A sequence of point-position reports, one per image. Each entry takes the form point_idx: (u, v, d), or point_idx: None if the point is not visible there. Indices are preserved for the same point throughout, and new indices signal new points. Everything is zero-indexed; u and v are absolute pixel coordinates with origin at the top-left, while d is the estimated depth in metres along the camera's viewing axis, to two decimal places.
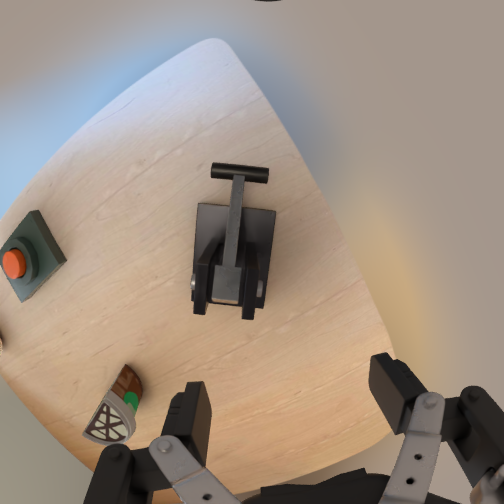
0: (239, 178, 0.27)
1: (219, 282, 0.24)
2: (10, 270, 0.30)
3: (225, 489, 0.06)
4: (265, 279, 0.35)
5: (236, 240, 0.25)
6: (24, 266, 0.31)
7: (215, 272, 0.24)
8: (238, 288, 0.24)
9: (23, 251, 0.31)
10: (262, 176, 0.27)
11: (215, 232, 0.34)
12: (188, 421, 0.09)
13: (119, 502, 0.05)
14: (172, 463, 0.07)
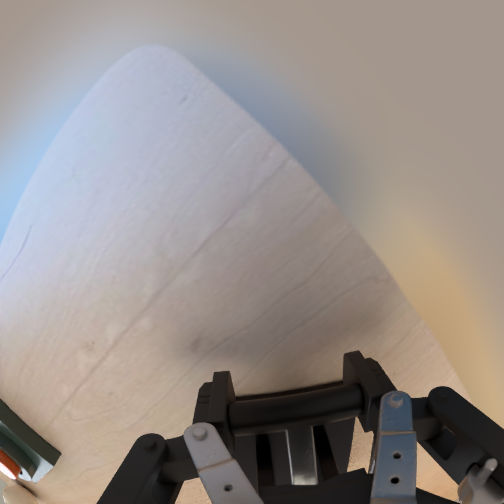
0: (301, 434, 0.10)
1: None
2: (5, 471, 0.14)
3: (247, 482, 0.06)
4: (346, 460, 0.18)
5: None
6: (17, 467, 0.15)
7: None
8: None
9: (6, 454, 0.15)
10: (351, 415, 0.10)
11: (259, 438, 0.17)
12: (220, 408, 0.10)
13: (142, 492, 0.06)
14: (203, 450, 0.08)
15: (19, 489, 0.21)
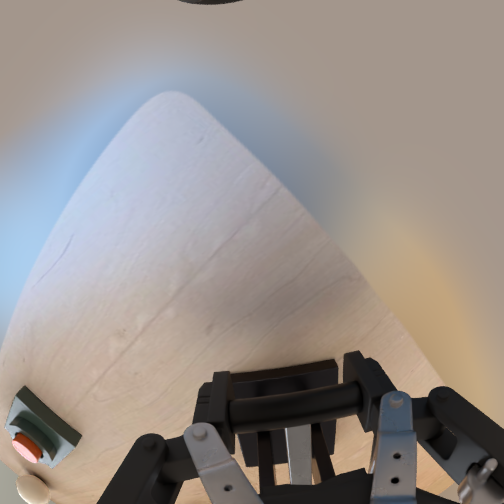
0: (300, 431, 0.10)
1: None
2: (26, 455, 0.19)
3: (247, 482, 0.06)
4: (333, 433, 0.22)
5: None
6: (39, 451, 0.20)
7: None
8: None
9: (30, 438, 0.20)
10: (348, 415, 0.10)
11: None
12: (220, 408, 0.10)
13: (142, 492, 0.06)
14: (203, 450, 0.08)
15: (32, 478, 0.26)
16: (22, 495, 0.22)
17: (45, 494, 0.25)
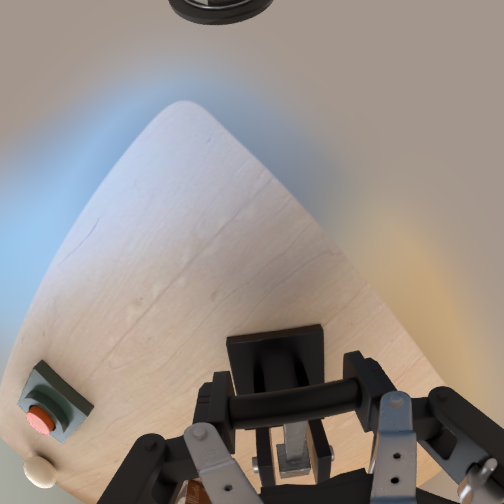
0: (298, 422, 0.11)
1: (287, 475, 0.16)
2: (39, 428, 0.24)
3: (248, 482, 0.06)
4: None
5: (301, 453, 0.15)
6: (52, 422, 0.25)
7: (281, 473, 0.16)
8: (308, 472, 0.16)
9: (44, 409, 0.25)
10: None
11: (255, 368, 0.26)
12: (220, 408, 0.10)
13: (142, 492, 0.06)
14: (203, 450, 0.08)
15: (40, 459, 0.31)
16: (29, 476, 0.26)
17: (52, 474, 0.30)
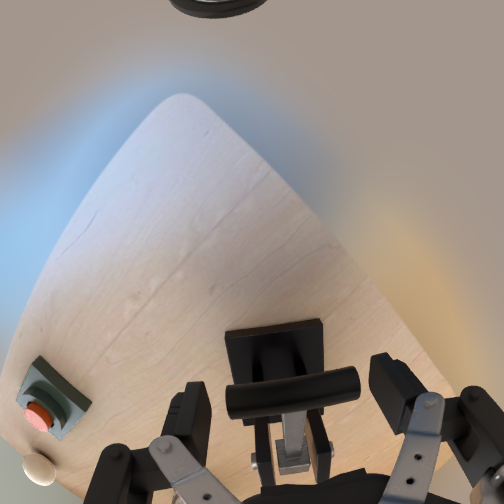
0: (296, 413, 0.11)
1: (286, 471, 0.16)
2: (37, 424, 0.24)
3: (225, 489, 0.06)
4: None
5: (300, 447, 0.15)
6: (50, 419, 0.25)
7: (280, 470, 0.16)
8: (308, 468, 0.16)
9: (42, 406, 0.25)
10: None
11: (254, 363, 0.26)
12: (188, 421, 0.09)
13: (119, 502, 0.05)
14: (172, 463, 0.07)
15: (39, 456, 0.31)
16: (28, 473, 0.26)
17: (51, 471, 0.30)
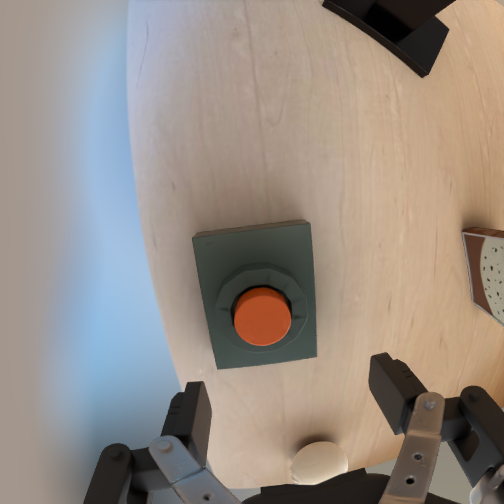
0: None
1: None
2: (270, 328, 0.20)
3: (225, 489, 0.06)
4: None
5: None
6: (279, 294, 0.21)
7: None
8: None
9: (253, 280, 0.21)
10: None
11: (363, 4, 0.18)
12: (188, 421, 0.09)
13: (119, 502, 0.05)
14: (172, 463, 0.07)
15: (307, 447, 0.28)
16: (313, 482, 0.24)
17: (336, 449, 0.27)
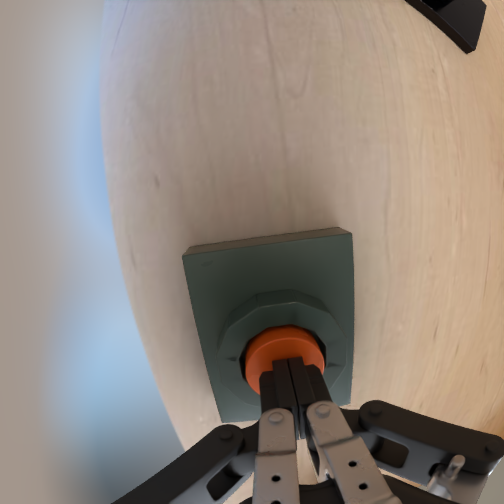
0: None
1: None
2: None
3: (296, 478, 0.06)
4: None
5: None
6: (307, 332, 0.14)
7: None
8: None
9: (273, 319, 0.14)
10: None
11: None
12: (289, 394, 0.10)
13: (197, 482, 0.06)
14: (272, 436, 0.08)
15: None
16: None
17: None
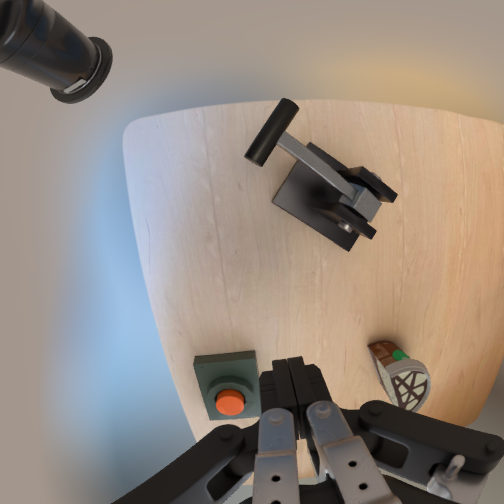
0: (285, 138, 0.20)
1: (365, 210, 0.25)
2: (234, 408, 0.37)
3: (296, 478, 0.06)
4: None
5: (340, 176, 0.23)
6: (238, 393, 0.38)
7: (358, 210, 0.24)
8: (375, 198, 0.25)
9: (225, 387, 0.38)
10: (295, 112, 0.20)
11: (303, 199, 0.35)
12: (289, 394, 0.10)
13: (197, 482, 0.06)
14: (272, 436, 0.08)
15: None
16: None
17: None
